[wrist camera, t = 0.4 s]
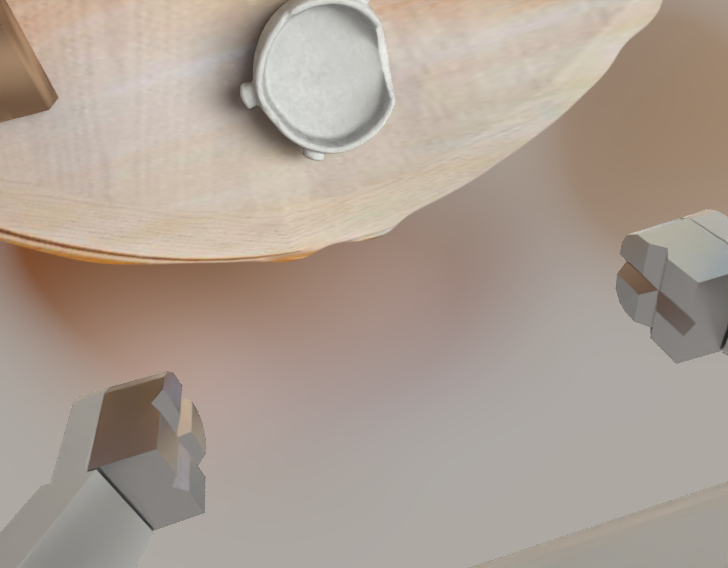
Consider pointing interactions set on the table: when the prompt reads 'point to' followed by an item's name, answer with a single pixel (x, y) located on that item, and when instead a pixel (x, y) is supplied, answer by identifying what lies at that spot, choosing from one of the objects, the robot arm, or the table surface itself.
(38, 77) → the collar block
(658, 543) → the robot arm
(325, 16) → the dish
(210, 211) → the table surface
